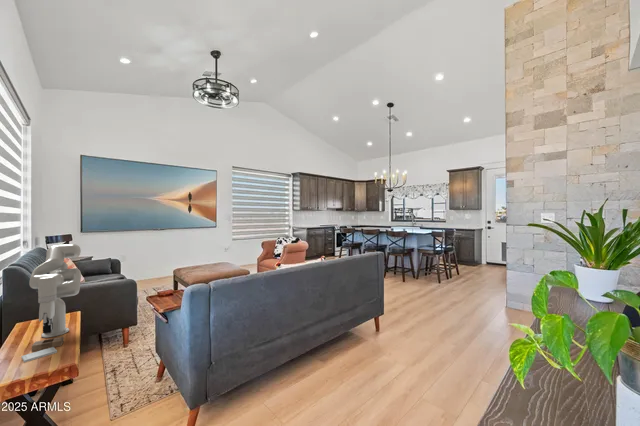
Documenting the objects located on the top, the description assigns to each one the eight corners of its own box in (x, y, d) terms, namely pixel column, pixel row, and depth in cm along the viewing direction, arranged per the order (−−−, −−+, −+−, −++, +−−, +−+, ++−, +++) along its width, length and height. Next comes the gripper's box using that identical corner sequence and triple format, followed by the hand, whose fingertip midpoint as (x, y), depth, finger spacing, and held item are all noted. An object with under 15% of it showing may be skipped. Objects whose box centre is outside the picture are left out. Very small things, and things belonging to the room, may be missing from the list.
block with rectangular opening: (35, 346, 160) (35, 341, 160) (63, 341, 166) (63, 336, 166) (31, 351, 155) (31, 345, 155) (61, 345, 161) (61, 340, 161)
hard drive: (53, 346, 158) (21, 355, 148) (57, 350, 153) (24, 360, 143) (53, 349, 158) (21, 358, 148) (57, 353, 153) (24, 363, 143)
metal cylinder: (45, 332, 161) (45, 318, 161) (52, 331, 162) (52, 317, 162) (43, 334, 158) (43, 320, 158) (51, 333, 159) (50, 319, 159)
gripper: (42, 296, 165) (43, 328, 165) (33, 303, 151) (34, 338, 151) (60, 294, 169) (60, 325, 169) (52, 301, 155) (53, 334, 155)
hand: (47, 331), depth 160 cm, fingers closed on metal cylinder, 3 cm apart
